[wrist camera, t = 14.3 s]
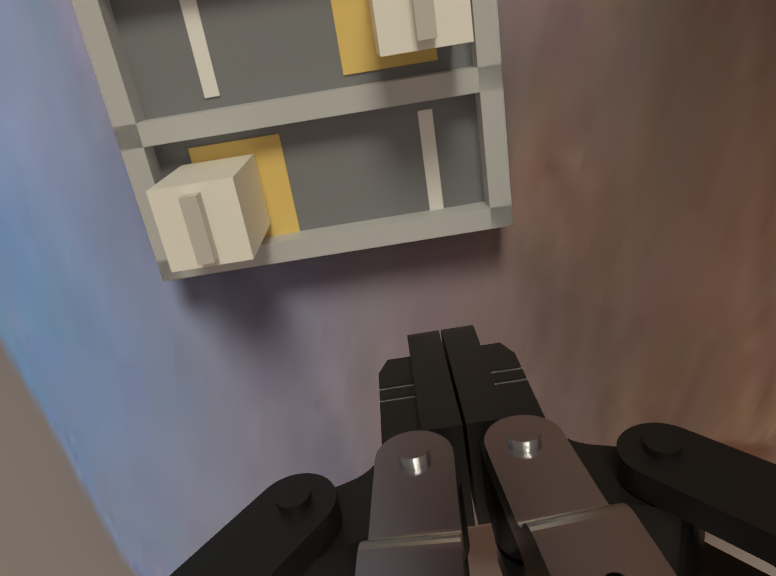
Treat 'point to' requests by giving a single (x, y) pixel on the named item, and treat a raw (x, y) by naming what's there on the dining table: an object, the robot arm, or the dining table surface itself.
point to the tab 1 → (210, 212)
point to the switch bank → (307, 118)
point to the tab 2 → (419, 24)
